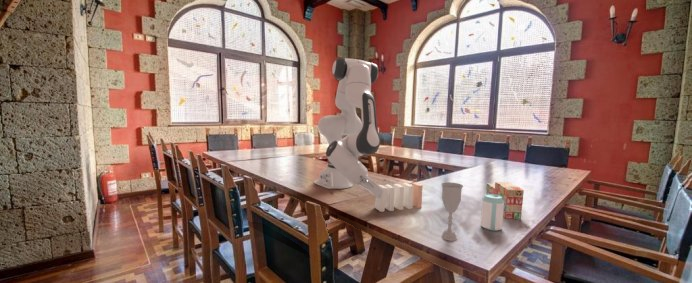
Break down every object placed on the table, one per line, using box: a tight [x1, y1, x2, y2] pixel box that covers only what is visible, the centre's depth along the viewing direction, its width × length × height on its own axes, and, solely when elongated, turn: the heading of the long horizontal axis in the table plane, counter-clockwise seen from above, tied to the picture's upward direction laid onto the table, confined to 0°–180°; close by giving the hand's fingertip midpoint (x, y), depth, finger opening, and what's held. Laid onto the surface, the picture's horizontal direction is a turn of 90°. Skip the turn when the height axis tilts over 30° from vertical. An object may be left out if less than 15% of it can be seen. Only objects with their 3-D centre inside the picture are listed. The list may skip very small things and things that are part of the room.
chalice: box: [440, 182, 464, 242], centre depth 98 cm, size 7×7×18 cm
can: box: [480, 193, 504, 232], centre depth 108 cm, size 7×7×12 cm
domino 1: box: [374, 184, 388, 213], centre depth 125 cm, size 2×6×10 cm, turn 19°
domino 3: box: [393, 183, 404, 211], centre depth 128 cm, size 2×6×10 cm, turn 19°
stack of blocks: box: [485, 181, 525, 220], centre depth 127 cm, size 21×6×12 cm, turn 174°
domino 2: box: [384, 183, 395, 212], centre depth 127 cm, size 2×6×10 cm, turn 19°
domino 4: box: [402, 182, 414, 210], centre depth 130 cm, size 2×6×10 cm, turn 19°
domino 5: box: [411, 182, 423, 209], centre depth 131 cm, size 2×6×10 cm, turn 19°
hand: (377, 195), depth 125 cm, fingers closed
